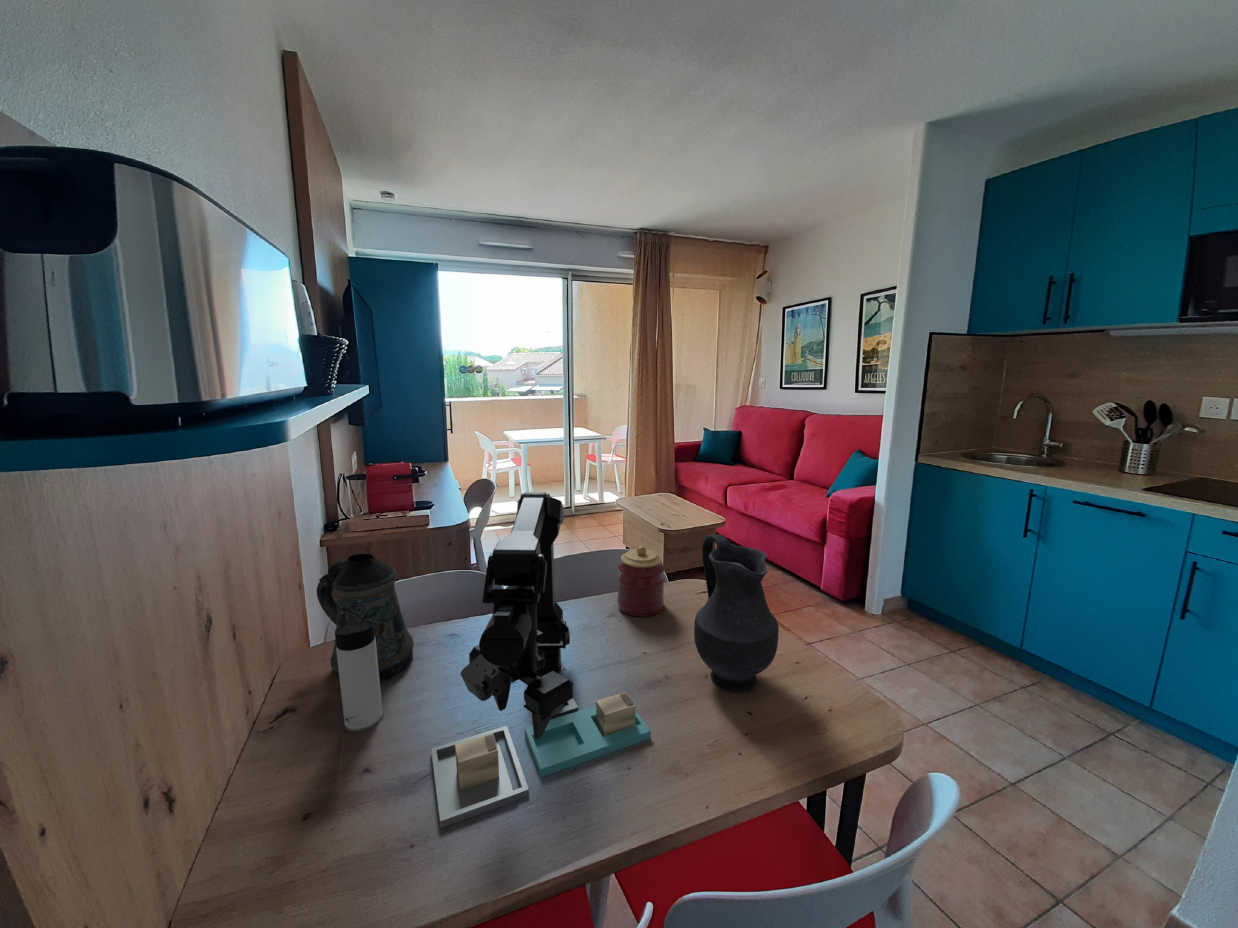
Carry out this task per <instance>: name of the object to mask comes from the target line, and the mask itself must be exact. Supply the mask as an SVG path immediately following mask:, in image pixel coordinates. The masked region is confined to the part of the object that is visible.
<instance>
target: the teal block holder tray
mask: <svg viewBox="0 0 1238 928" xmlns="http://www.w3.org/2000/svg"><path fill="white" fill-rule="evenodd" d="M651 735H652V732H651V729H650V728H649V727H648V725H647V723H645V721H644V719H642V717H641V715H639V712H638V711H637V710H636V717H635V726H634V727H631V728H628V729H625V730H622V731H619V732H616V733H613V734H610V735H607V736H604V737H603V736H602V734H601V732H600V731H599V729H598V727H597V726H596V705H594V706H591V707H587V708H584V709H582V710H581V709H580V710H578V711H577V712H574V713H571V714H568V715H564V716H561V717H558V718H555V719H551V720H550V721H549V723H548V725H547V727H546V729H545V731H544V733H543V735H542V737H540V738H539V739H535V736H534V731H533V724H531V725H529V726H526V727H524V736H525V739H526V742H527V744H528V747H529V750H530V752H531V754H532V758H533V761H534V764H535V765H536V768H537V771H538V773H539V776H540V778H544V777H546V776H549V775H552V774H554V773H555V774H556V773H557V772H560V771H563V770H566V769H568V768H571V767H574V766H579V765H580V764H582V763H583V764H584V763H585V762H589V761H591V760H594V759H597V758H600V757H603V756H605V755H609V754H611V753H614V752H617V751H619V750H622V749H625V748H628V747H631V746H633V745H637V744H640V743H642V742H644V741H648V740H651V738H652V736H651Z"/></svg>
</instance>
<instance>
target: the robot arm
mask: <svg viewBox="0 0 1238 928" xmlns="http://www.w3.org/2000/svg"><path fill="white" fill-rule="evenodd" d="M564 515H565V513H564V504H563V502H562V500H559V499H557V498H555V497H552V496H551V495H550V493H547V492H545V491H531V492H530V491H525V492H524V493H523V492H522V493H520V498H519V499H518V500H517V507H516V516H515V520H514V522H513V524H512V528H511V530H510V534H508V535H506V536H505V537H503V538H500V539H499V540H498V541H497V543H496V544H495V547H494V548H493V550H492V553H490V554H488V558H487V564H486V572H485V577H484V579H485V580H484V586H483V587H484V588H483V594H482V604H493V612H492V615H491V617H490V619H489V621H488V622H487V625H486V627H485V628H484V630H483V632H482V634H481V636H480V639H479V643H478V644H477V645H475V646H473V647H472V649H471V651H469V654H468V657H469V660H468V663H469V664H467V665H466V666H464V667H463V668H462V670H461V671H460V676H461V678H462V680H463V682H464V685H465V687H466V689H467V691H468V692H469V693H471V694H473V695H474V696H475V697H476V698H477V699H478V700H479V701H481V702H485V701H488V700H489V699H491V697H493V698H494V701H495V704H496V705H497V709H498V711H500V712H503V711H504V710H505V709H506V708H507V705H508V702H509V698H510V697H509V696H510V691H511V686H512V683H515V682H516V681H518V680H519V681H521V682H522V683H523V684H525V685H527V686H526V687H525V690H524V691H523V700H524V703H525V704H524V705H523V708H525V709H526V710H527V711H528V712H530V713H531V720H532V721H531V722H532V725H533V731H534V736H535V739H539V738H540V737H542V735H543V733H544V731H545V729H546V727H547V725H548V723H549V721H550V719H551V717H552V715H553V713H554V711H555V709H556V708H557V707H559V706H561V705H562V704H564V705H565V703H566V702H567V701H569V700H570V699H572V698H573V699H574V682H572V681H570V680H569V679H568V678H566V677H564V675H563V676H562V674H559V673H560V672H563V671H567V669H566V666H565V664H564V663H563V661H562V649H566V648H567V646H568V645H570V644H571V643H570V642H571V641H570V640H571V638H570V637H571V636H570V633H571V632H570V628H569V626H568V625H567V620H564V610H563V608H561V606H560V604H558V602H557V601H556V591H555V590H556V589H555V588H556V587H555V586H556V585H555V584H556V583H555V582H556V581H555V547H554V542H555V541H556V539H557V538H558V536H559V535H560V534H559V533H560V529H561V524H562V525H563V524H564ZM494 586H497V587H505V588H493V587H494Z"/></svg>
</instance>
